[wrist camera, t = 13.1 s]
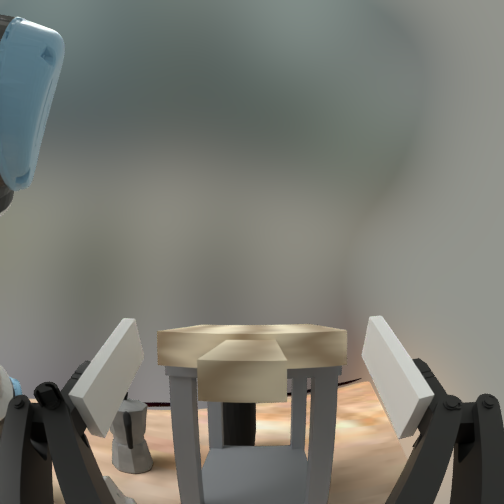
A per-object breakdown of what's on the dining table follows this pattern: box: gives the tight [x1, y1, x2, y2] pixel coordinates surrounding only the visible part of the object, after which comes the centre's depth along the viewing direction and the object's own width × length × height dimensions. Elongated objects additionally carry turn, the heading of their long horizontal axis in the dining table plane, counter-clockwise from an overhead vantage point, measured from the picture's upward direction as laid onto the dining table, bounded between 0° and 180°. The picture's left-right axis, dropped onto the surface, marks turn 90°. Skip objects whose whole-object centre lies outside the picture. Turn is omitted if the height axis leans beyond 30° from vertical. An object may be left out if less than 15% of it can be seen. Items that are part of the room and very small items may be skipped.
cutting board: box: [157, 324, 347, 403], centre depth 27 cm, size 16×31×3 cm, turn 178°
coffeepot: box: [110, 392, 153, 474], centre depth 46 cm, size 15×9×18 cm, turn 26°
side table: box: [165, 365, 342, 504], centre depth 36 cm, size 18×24×30 cm
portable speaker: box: [223, 402, 256, 446], centre depth 58 cm, size 9×9×20 cm
